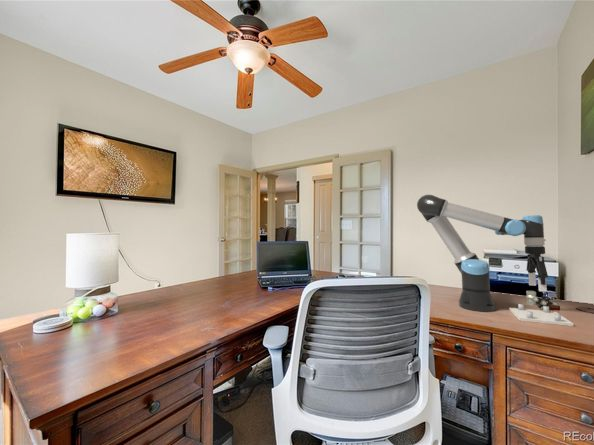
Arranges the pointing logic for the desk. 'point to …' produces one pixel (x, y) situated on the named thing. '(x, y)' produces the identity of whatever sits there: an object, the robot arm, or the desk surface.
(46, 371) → the desk surface
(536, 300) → the valve
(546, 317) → the mounting plate
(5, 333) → the desk surface
